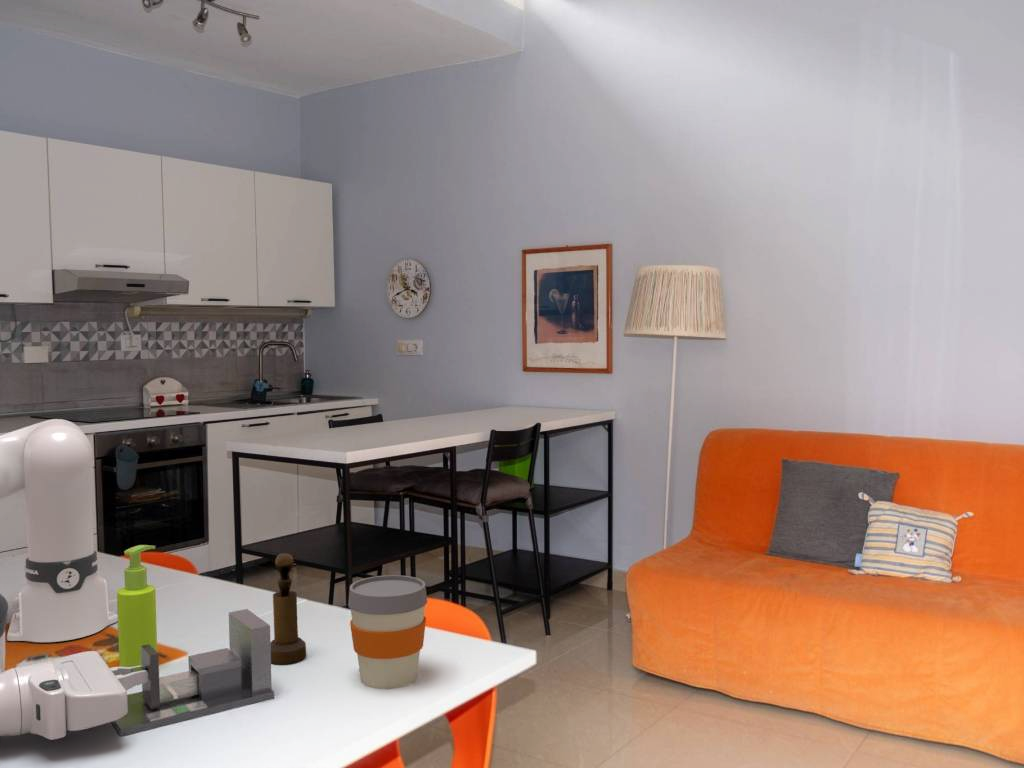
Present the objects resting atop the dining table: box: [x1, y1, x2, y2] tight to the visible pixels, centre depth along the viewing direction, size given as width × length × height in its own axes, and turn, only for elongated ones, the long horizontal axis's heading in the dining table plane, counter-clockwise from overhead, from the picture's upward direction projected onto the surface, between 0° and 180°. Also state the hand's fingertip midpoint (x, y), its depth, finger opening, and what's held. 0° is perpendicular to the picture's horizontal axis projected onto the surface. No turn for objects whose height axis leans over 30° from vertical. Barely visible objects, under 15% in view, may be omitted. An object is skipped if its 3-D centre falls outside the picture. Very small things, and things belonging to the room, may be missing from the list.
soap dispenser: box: [116, 544, 158, 667], centre depth 153 cm, size 6×7×20 cm
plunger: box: [141, 644, 199, 710], centre depth 137 cm, size 8×11×8 cm
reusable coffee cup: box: [347, 574, 428, 689], centre depth 148 cm, size 12×12×15 cm
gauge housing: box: [111, 608, 275, 737], centre depth 138 cm, size 12×22×11 cm, turn 126°
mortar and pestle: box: [270, 552, 307, 666], centre depth 157 cm, size 7×6×18 cm
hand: (145, 673), depth 135 cm, fingers closed
